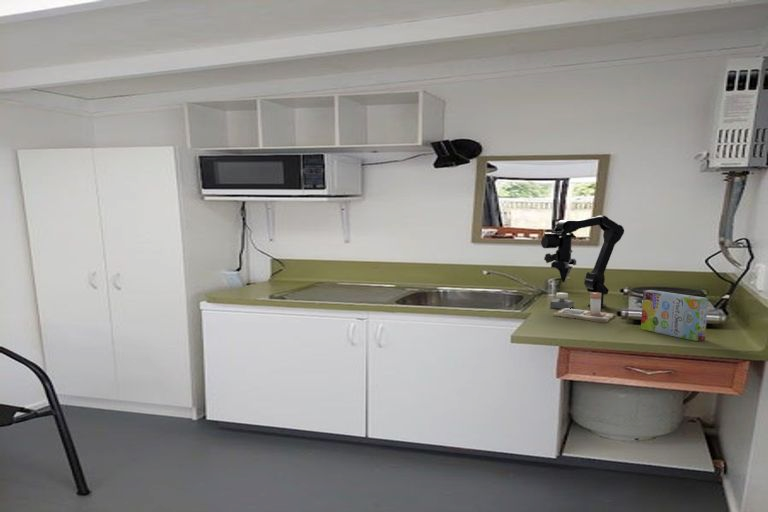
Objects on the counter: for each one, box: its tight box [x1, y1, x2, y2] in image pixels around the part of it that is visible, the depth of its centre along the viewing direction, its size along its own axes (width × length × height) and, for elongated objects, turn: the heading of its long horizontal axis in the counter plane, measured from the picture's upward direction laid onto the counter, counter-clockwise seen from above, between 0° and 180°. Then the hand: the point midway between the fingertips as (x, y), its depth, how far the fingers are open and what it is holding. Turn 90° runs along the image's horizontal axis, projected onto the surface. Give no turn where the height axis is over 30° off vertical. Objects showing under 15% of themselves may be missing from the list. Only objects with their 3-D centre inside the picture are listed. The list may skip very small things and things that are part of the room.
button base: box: [549, 298, 575, 310], centre depth 233 cm, size 8×8×3 cm
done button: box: [555, 292, 569, 302], centre depth 232 cm, size 5×5×5 cm
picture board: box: [553, 308, 616, 323], centre depth 215 cm, size 15×21×1 cm
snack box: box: [640, 289, 709, 342], centre depth 183 cm, size 21×6×15 cm, turn 30°
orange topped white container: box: [589, 292, 602, 315], centre depth 212 cm, size 4×4×9 cm
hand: (563, 281), depth 231 cm, fingers closed
